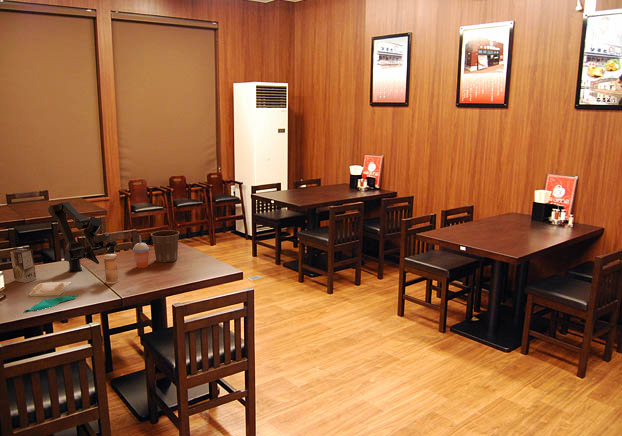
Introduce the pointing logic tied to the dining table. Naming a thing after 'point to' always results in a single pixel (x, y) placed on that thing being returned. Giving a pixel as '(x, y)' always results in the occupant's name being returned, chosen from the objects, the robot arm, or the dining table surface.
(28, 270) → the coffee box
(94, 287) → the dining table surface
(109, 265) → the bobbin
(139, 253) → the cup with straw
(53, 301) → the cloth
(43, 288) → the cream square tray
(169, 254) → the plant pot
